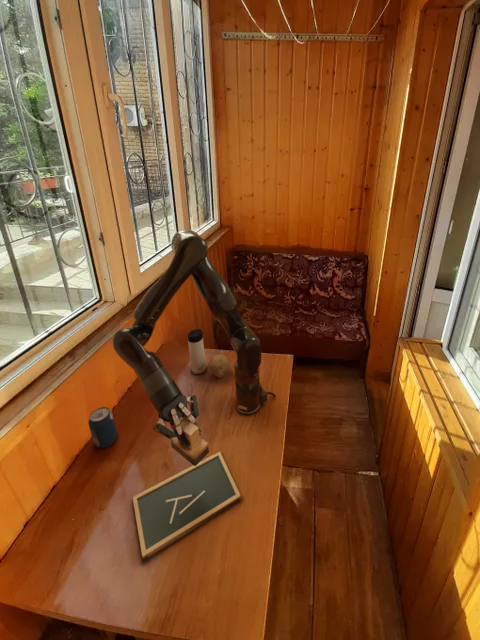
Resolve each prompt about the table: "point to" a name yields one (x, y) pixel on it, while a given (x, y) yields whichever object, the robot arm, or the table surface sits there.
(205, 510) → the chalkboard
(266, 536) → the table surface
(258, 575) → the table surface
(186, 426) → the eraser
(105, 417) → the soda can
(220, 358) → the natural sponge
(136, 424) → the table surface
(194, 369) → the travel mug
